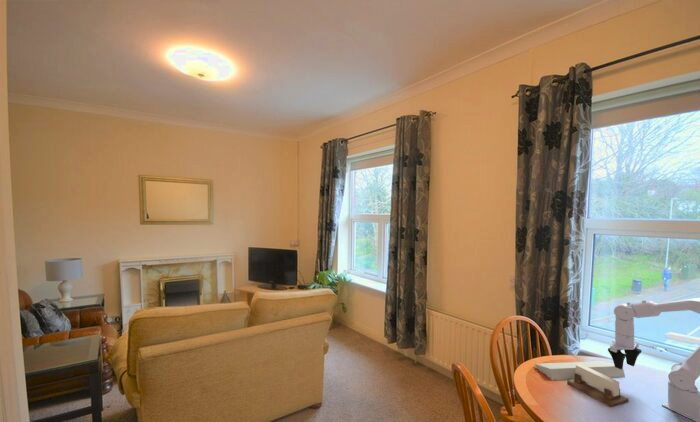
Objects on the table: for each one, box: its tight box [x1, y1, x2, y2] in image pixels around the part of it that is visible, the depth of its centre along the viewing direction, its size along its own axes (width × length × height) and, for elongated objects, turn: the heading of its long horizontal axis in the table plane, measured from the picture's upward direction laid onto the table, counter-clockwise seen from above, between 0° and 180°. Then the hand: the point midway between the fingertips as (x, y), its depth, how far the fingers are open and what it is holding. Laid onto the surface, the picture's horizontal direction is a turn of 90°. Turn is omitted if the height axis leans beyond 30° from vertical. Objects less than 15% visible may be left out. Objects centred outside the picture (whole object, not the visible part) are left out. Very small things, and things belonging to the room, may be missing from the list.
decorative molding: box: [534, 360, 626, 381], centre depth 133 cm, size 34×5×10 cm
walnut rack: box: [566, 373, 629, 408], centre depth 118 cm, size 16×10×4 cm, turn 18°
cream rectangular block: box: [576, 364, 620, 396], centre depth 118 cm, size 14×3×5 cm, turn 19°
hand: (624, 366), depth 120 cm, fingers open, 7 cm apart
